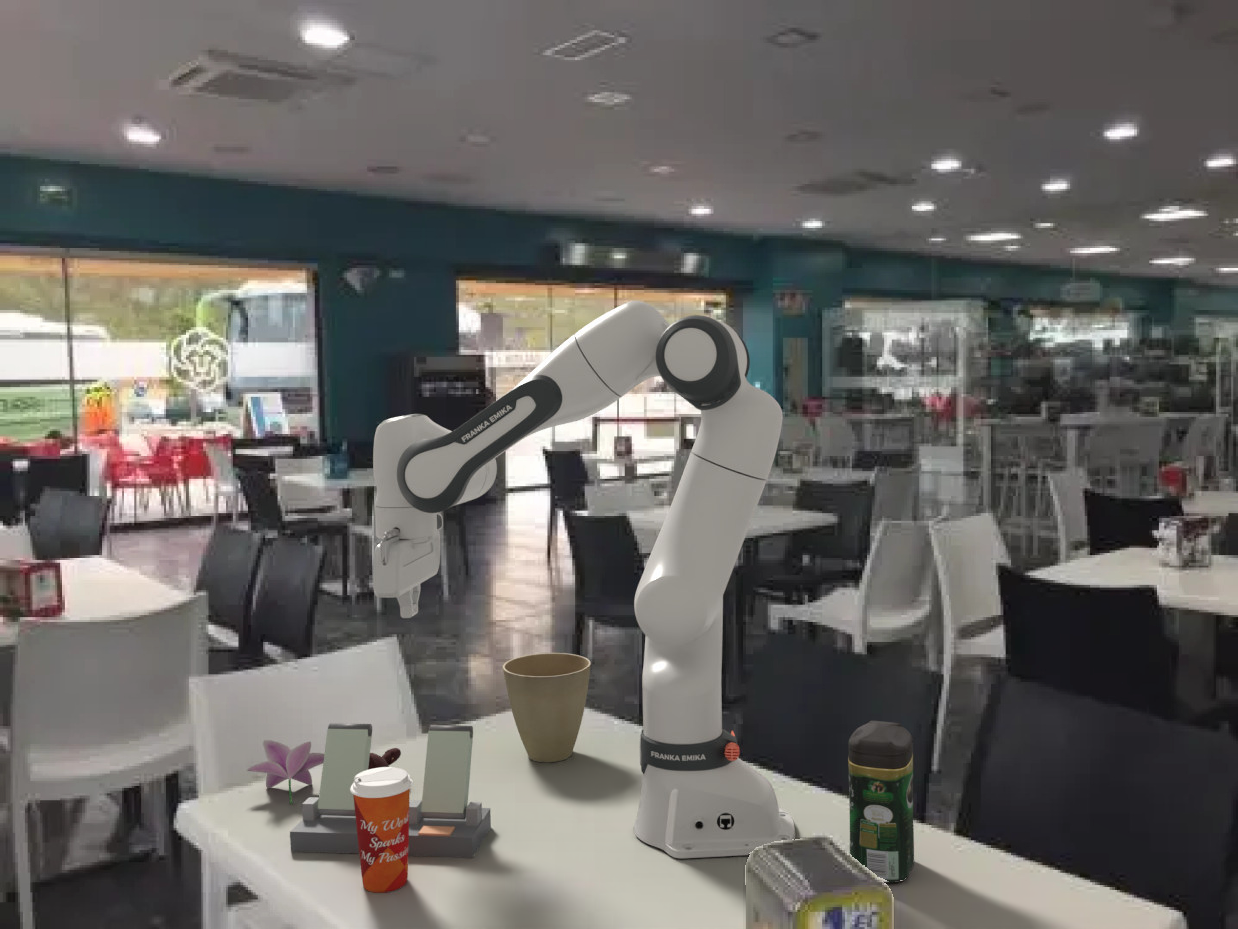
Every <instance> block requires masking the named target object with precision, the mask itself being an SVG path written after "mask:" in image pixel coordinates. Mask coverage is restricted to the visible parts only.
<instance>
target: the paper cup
mask: <svg viewBox="0 0 1238 929" xmlns="http://www.w3.org/2000/svg"><path fill="white" fill-rule="evenodd" d="M413 783H414V781H413V779H411V775H410V774H409V773H408V772H407V771H406V770H405V769H404V768H399V767H393V766H389V767H380V768H373V769H369V770H366V771H363V772H361V773H359V774H357V775H356V776H355V778H354V781H353V784H352V786H351V788H350V791H351V793H352V794H353V797H354V807H355V816H356V826H357V836H358V846H359V854H358V855H359V863H360V871H361V880H362V886H363V888H364V890H365V891H368V892H370V893H375V894H381V893H382V894H384V893H390V892H394V891H397V890H399V889H401V888H403V887H405V885H406V884H407V882H408V876H409V875H408V872H409V856H408V846H409V802H410V796H411V795H410V789H411V787H412V785H413Z"/></svg>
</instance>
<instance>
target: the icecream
mask: <svg viewBox="0 0 1238 929" xmlns="http://www.w3.org/2000/svg"><path fill="white" fill-rule="evenodd" d="M401 754H402V752H401V750H400V748H398V747H393V748H390V749H388V750H386V751H384V754H382V756H381V755H378V754H376V753H374V752H370V757H369V766H368V770H369V769H373V768H380V767H390V765H392V764H394V763H395V762H397V760H399V758H400V757H401Z"/></svg>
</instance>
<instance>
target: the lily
mask: <svg viewBox="0 0 1238 929" xmlns="http://www.w3.org/2000/svg"><path fill="white" fill-rule="evenodd" d="M262 744H263V749H264V750H263V751H264V754H265V756H266V759H267V761H263V762H260V763H257V764H254V765H253V766H250V767H249V768H247V769H246V771H247V772H253V773H261V774H266V779H265V787H266V788H267V789H271V788H273V787H275V786H277V785H279V784H281V783H282V782H284V781H286V780H288V794H289V801H290V802H289V803H290V805H292V804H293V797H292V796H293V795H292V784H291V783H292V782H291V781H292V780H294V781H297V782H300V783H303V784H305V785H309V786H311V785H313V778H312V777H313V776H312V775H311V774H312V773H311V772H310V770H311V769H314V768H315V767H318V766H320V765H323V762H324V754H325V753H321V752H311V748H312V742H311V741H305V742H304V743H301V744H299V745H297V746H296V747H294V748H293V749H291V747H289V746H288V745H285V744H283V743H281V742H278V741H274V740H272V739H271V740H269V739H264V740H263V742H262Z"/></svg>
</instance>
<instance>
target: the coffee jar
mask: <svg viewBox="0 0 1238 929" xmlns="http://www.w3.org/2000/svg"><path fill="white" fill-rule="evenodd" d="M847 743H848V744H847V745H848V755H847V756H848V757H847V761H848V762H847V763H848V764H847V765H848V787H849V788H848V789H849V790H848V792H849V794H848V795H849V797H848V798H849V800H848V801H849V804H848V805H849V855H850V854H851V855H852V857H854V858H855V859H857V860H858V861H859V862H860V863H861V864H862V865H865V867H867V868H868V869H869V870H871V871H872V872H873V873H875V874H876V875H877V877H880V878H883V879H885V880H887V881H889V882H888V883H896V882H895V881H900V880H904V879H905V878H906V879H908V878H909V876H910V874H911V872H912V870H913V867H914V864H915V836H914V746H913V744H914V740H913V736H912V734H911V733H910V732H909V730H908V729H906V728H905V727H904V726H902V724H901V723H898V722H890V721H880V720H870V721H869V722H867V723H866V724H862V725H861V726H859V727H858V728H856V729H855V730H854V731H853V732H852V734H851V735H850V736H849V739H848V742H847ZM906 879H905V880H906ZM905 880H904V881H905Z"/></svg>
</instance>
